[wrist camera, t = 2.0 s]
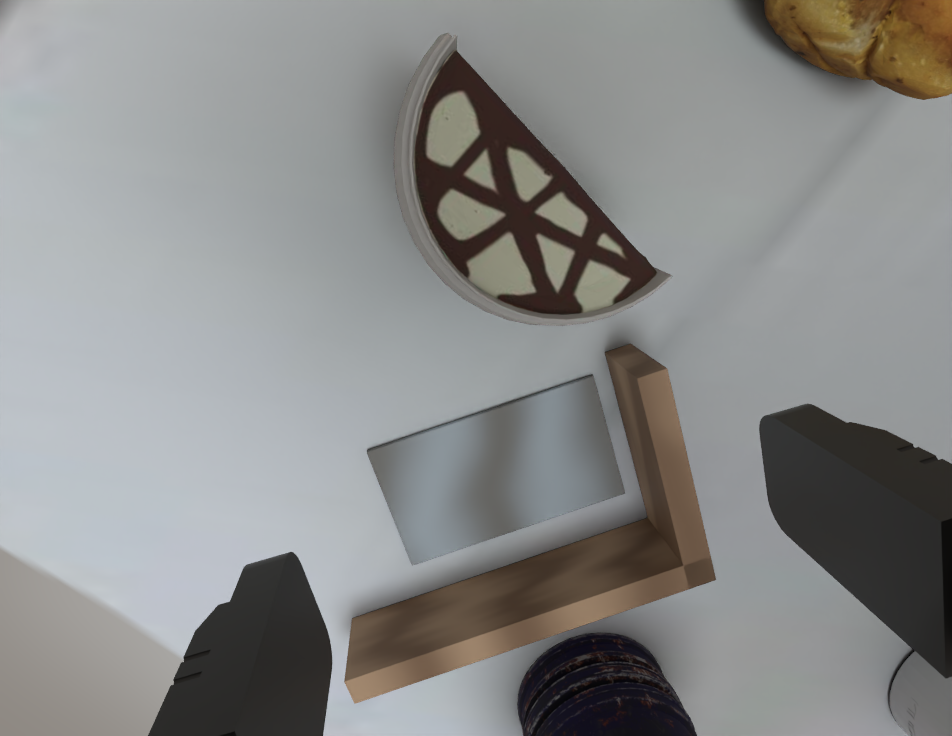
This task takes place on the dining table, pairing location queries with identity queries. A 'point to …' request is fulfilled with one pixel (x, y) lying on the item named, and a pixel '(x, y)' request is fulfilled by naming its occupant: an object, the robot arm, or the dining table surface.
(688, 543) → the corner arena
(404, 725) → the dining table surface
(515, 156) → the food container
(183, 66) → the dining table surface
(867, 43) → the bread roll
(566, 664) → the rusty blue oil drum
